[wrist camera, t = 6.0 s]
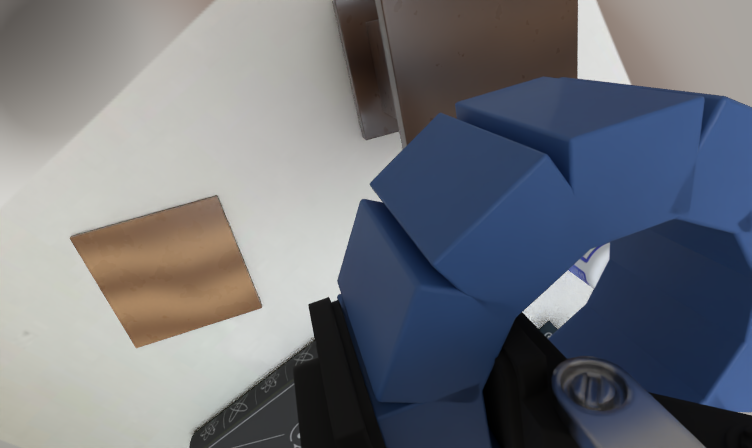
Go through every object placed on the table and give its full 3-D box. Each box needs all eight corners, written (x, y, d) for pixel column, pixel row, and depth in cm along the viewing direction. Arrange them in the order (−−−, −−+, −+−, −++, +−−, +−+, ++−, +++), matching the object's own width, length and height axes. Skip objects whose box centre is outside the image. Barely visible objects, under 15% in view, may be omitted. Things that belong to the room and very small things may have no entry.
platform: (331, 0, 33) (376, -26, 20) (462, -29, 34) (579, -70, 22) (362, 137, 37) (414, 185, 25) (475, 106, 39) (577, 137, 26)
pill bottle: (583, 257, 49) (652, 303, 41) (543, 263, 48) (605, 311, 40) (592, 215, 47) (667, 253, 39) (550, 219, 46) (617, 261, 37)
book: (348, 311, 44) (354, 328, 41) (421, 383, 51) (430, 402, 48) (190, 432, 45) (186, 457, 42) (282, 488, 52) (283, 512, 49)
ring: (288, 151, 9) (307, 224, 5) (684, 34, 10) (909, 30, 7) (387, 447, 13) (434, 594, 10) (655, 339, 15) (782, 434, 11)
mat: (71, 236, 34) (69, 238, 34) (217, 195, 36) (216, 196, 36) (137, 345, 40) (136, 348, 39) (262, 305, 41) (262, 308, 41)
